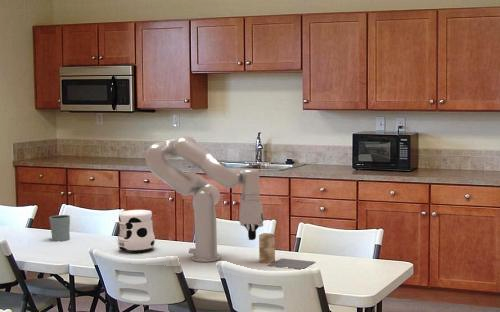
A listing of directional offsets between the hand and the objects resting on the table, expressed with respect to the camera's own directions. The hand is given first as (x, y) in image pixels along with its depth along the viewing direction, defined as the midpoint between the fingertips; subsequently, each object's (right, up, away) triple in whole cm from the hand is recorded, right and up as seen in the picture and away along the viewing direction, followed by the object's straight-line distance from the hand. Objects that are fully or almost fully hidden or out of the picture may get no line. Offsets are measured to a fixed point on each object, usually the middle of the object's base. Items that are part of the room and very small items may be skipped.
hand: (252, 239), depth 329 cm
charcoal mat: (+17, -10, -8) cm, 21 cm away
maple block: (+7, -9, -3) cm, 12 cm away
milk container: (-54, -8, +26) cm, 61 cm away
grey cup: (-97, -6, +54) cm, 111 cm away
